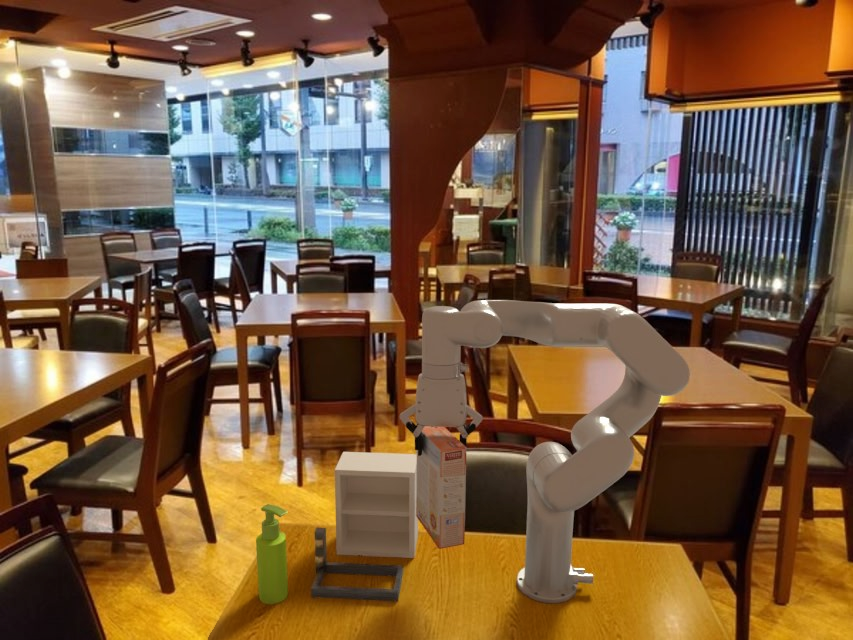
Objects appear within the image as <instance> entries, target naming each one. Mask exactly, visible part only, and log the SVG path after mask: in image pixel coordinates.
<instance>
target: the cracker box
mask: <svg viewBox="0 0 853 640" xmlns="http://www.w3.org/2000/svg"><path fill="white" fill-rule="evenodd" d="M421 432H422V433H423V450H422V455H421V456H418V450H416V454H417V489H416V516H417V518H418V522H420V524H421V525H422V527H423V528H424V529H425V531H426V532H427V534H428V536H429V537H430V538H431V540H432V541H433V543H434V544H435V546H436V548H437V549H439V550H442V549H446V548H452V547H458V546H463V545H465V534H466V533H465V527H466V483H467V480H466V479H467V478H466V476H467V448H466V446H465V445H463V444H462V443H461V442H460V439H458V438H457V437H456V436H455V435H454V434H453V433H452V432H450V430H449V429H448V428H447V427H434V426H425V427H424V428H423V430H422V431H421Z"/></svg>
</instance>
